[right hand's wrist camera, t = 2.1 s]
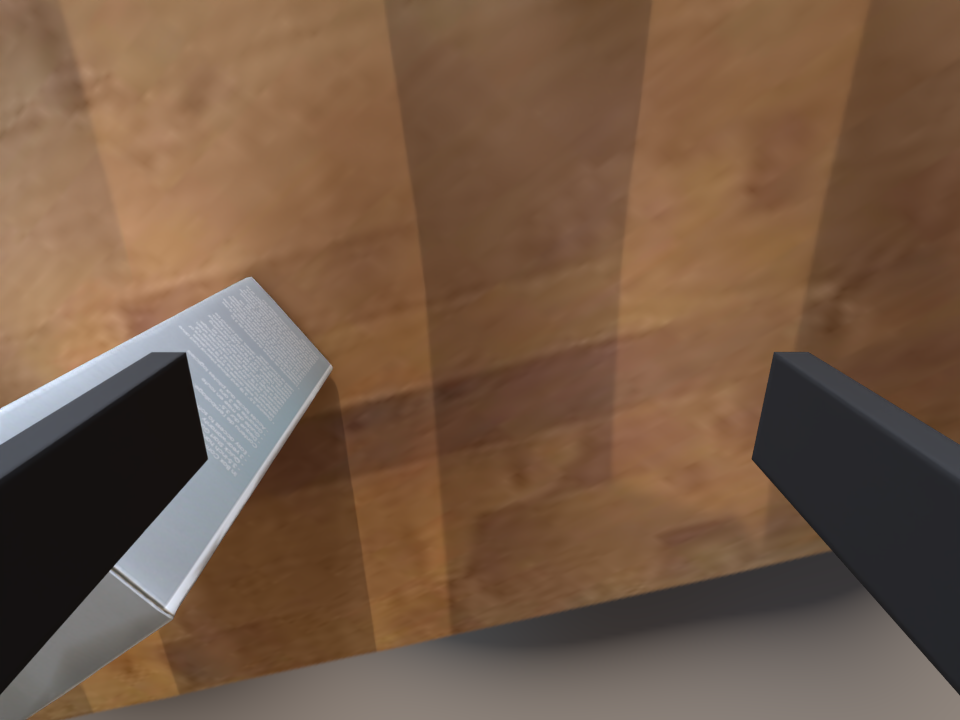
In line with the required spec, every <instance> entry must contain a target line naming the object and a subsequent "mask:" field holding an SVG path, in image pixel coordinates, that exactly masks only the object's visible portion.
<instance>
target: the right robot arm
mask: <svg viewBox="0 0 960 720" xmlns="http://www.w3.org/2000/svg"><path fill="white" fill-rule="evenodd" d="M207 460H208V456H207V451H206V446H205V441H204V436H203V432H202V427H201V422H200V417H199V412H198V407H197V403H196V398H195V393H194V388H193V383H192V379H191V374H190V369H189V364H188V359H187V355H186V352H151V353H149V354H148V355H146V356H145V357H143V358H141V359H140V360H138V361H136V362H135V363H133V364H131V365H130V366H128V367H127V368H125V369H123V370H122V371H120V372H118V373H117V374H115V375H114V376H112V377H110V378H109V379H107V380H105V381H104V382H102V383H100V384H99V385H97V386H96V387H94V388H92V389H91V390H89V391H87V392H86V393H84V394H82V395H81V396H79V397H78V398H76V399H74V400H73V401H71V402H69V403H68V404H66V405H65V406H63V407H61V408H60V409H58V410H56V411H55V412H53V413H51V414H50V415H48V416H47V417H45V418H43V419H42V420H40V421H38V422H37V423H35V424H33V425H32V426H30V427H29V428H27V429H25V430H24V431H22V432H20V433H19V434H17V435H16V436H14V437H12V438H11V439H9V440H7V441H6V442H4V443H2V444H1V445H0V695H1V694H2V693H3V691H4V690H5V689H6V688H7V687H8V686H9V685H10V683H11V682H12V681H13V680H14V679H15V678H16V677H17V676H18V674H19V673H20V672H21V671H22V670H23V669H24V668H25V666H26V665H27V664H28V663H29V662H30V661H31V660H32V659H33V657H34V656H35V655H36V654H37V653H38V652H39V651H40V649H41V648H42V647H43V646H44V645H45V644H46V643H47V642H48V640H49V639H50V638H51V637H52V636H53V635H54V634H55V632H56V631H57V630H58V629H59V628H60V627H61V626H62V625H63V623H64V622H65V621H66V620H67V619H68V618H69V617H70V615H71V614H72V613H73V612H74V611H75V610H76V609H77V608H78V606H79V605H80V604H81V603H82V602H83V601H84V600H85V598H86V597H87V596H88V595H89V594H90V593H91V592H92V591H93V589H94V588H95V587H96V586H97V585H98V584H99V583H100V581H101V580H102V579H103V578H104V577H105V576H106V575H107V574H108V572H109V571H110V570H111V569H112V568H113V567H114V566H115V564H116V563H117V562H118V561H119V560H120V559H121V558H122V556H123V555H124V554H125V553H126V552H127V551H128V550H129V549H130V547H131V546H132V545H133V544H134V543H135V542H136V541H137V539H138V538H139V537H140V536H141V535H142V534H143V533H144V532H145V530H146V529H147V528H148V527H149V526H150V525H151V524H152V522H153V521H154V520H155V519H156V518H157V517H158V516H159V515H160V513H161V512H162V511H163V510H164V509H165V508H166V507H167V505H168V504H169V503H170V502H171V501H172V500H173V499H174V498H175V496H176V495H177V494H178V493H179V492H180V491H181V490H182V488H183V487H184V486H185V485H186V484H187V483H188V482H189V481H190V479H191V478H192V477H193V476H194V475H195V474H196V473H197V471H198V470H199V469H200V468H201V467H202V466H203V465H204V464H205V462H206V461H207ZM752 460H753V461H754V462H755V464H756V465H757V466H758V467H759V468H760V469H761V470H762V471H763V473H764V474H765V475H766V476H767V477H768V478H769V479H770V481H771V482H772V483H773V484H774V485H775V486H776V487H777V488H778V490H779V491H780V492H781V493H782V494H783V495H784V496H785V498H786V499H787V500H788V501H789V502H790V503H791V504H792V505H793V507H794V508H795V509H796V510H797V511H798V512H799V513H800V515H801V516H802V517H803V518H804V519H805V520H806V521H807V522H808V524H809V525H810V526H811V527H812V528H813V529H814V530H815V532H816V533H817V534H818V535H819V536H820V537H821V538H822V539H823V541H824V542H825V543H826V544H827V545H828V546H829V547H830V549H831V550H832V551H833V552H834V553H835V554H836V555H837V556H838V558H839V559H840V560H841V561H842V562H843V563H844V564H845V566H846V567H847V568H848V569H849V570H850V571H851V572H852V573H853V575H854V576H855V577H856V578H857V579H858V580H859V581H860V583H861V584H862V585H863V586H864V587H865V588H866V589H867V591H868V592H869V593H870V594H871V595H872V596H873V597H874V598H875V600H876V601H877V602H878V603H879V604H880V605H881V606H882V608H883V609H884V610H885V611H886V612H887V613H888V614H889V615H890V617H891V618H892V619H893V620H894V621H895V622H896V623H897V624H898V626H899V627H900V628H901V629H902V630H903V631H904V632H905V634H906V635H907V636H908V637H909V638H910V639H911V640H912V642H913V643H914V644H915V645H916V646H917V647H918V648H919V649H920V651H921V652H922V653H923V654H924V655H925V656H926V657H927V659H928V660H929V661H930V662H931V663H932V664H933V665H934V666H935V668H936V669H937V670H938V671H939V672H940V673H941V674H942V675H943V677H944V678H945V679H946V680H947V681H948V682H949V684H950V685H951V686H952V687H953V688H954V689H955V690H956V691H957V693H958V694H959V695H960V445H959V444H958V443H956V442H954V441H953V440H951V439H949V438H948V437H946V436H944V435H943V434H941V433H940V432H938V431H936V430H935V429H933V428H931V427H930V426H928V425H927V424H925V423H923V422H922V421H920V420H918V419H917V418H915V417H913V416H912V415H910V414H909V413H907V412H905V411H904V410H902V409H900V408H899V407H897V406H895V405H894V404H892V403H891V402H889V401H887V400H886V399H884V398H882V397H881V396H879V395H878V394H876V393H874V392H873V391H871V390H869V389H868V388H866V387H864V386H863V385H861V384H860V383H858V382H856V381H855V380H853V379H851V378H850V377H848V376H846V375H845V374H843V373H842V372H840V371H838V370H837V369H835V368H833V367H832V366H830V365H829V364H827V363H825V362H824V361H822V360H820V359H819V358H817V357H815V356H814V355H812V354H811V353H809V352H774V355H773V359H772V364H771V369H770V374H769V379H768V383H767V388H766V393H765V398H764V403H763V407H762V412H761V417H760V422H759V427H758V431H757V436H756V441H755V446H754V451H753V456H752Z"/></svg>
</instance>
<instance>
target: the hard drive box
mask: <svg viewBox="0 0 960 720" xmlns="http://www.w3.org/2000/svg"><path fill="white" fill-rule="evenodd" d="M151 352H186V355H187V359H188V364H189V369H190V374H191V379H192V383H193V388H194V393H195V398H196V403H197V407H198V412H199V417H200V422H201V427H202V432H203V436H204V441H205V446H206V451H207V456H208V460H207V461H206V462H205V464H204V465H203V466H202V467H201V468H200V469H199V470H198V471H197V473H196V474H195V475H194V476H193V477H192V478H191V479H190V481H189V482H188V483H187V484H186V485H185V486H184V487H183V488H182V490H181V491H180V492H179V493H178V494H177V495H176V496H175V498H174V499H173V500H172V501H171V502H170V503H169V504H168V505H167V507H166V508H165V509H164V510H163V511H162V512H161V513H160V515H159V516H158V517H157V518H156V519H155V520H154V521H153V522H152V524H151V525H150V526H149V527H148V528H147V529H146V530H145V532H144V533H143V534H142V535H141V536H140V537H139V538H138V539H137V541H136V542H135V543H134V544H133V545H132V546H131V547H130V549H129V550H128V551H127V552H126V553H125V554H124V555H123V556H122V558H121V559H120V560H119V561H118V562H117V563H116V564H115V566H114V567H113V568H112V569H111V570H110V571H109V572H108V574H107V575H106V576H105V577H104V578H103V579H102V580H101V581H100V583H99V584H98V585H97V586H96V587H95V588H94V589H93V591H92V592H91V593H90V594H89V595H88V596H87V597H86V598H85V600H84V601H83V602H82V603H81V604H80V605H79V606H78V608H77V609H76V610H75V611H74V612H73V613H72V614H71V615H70V617H69V618H68V619H67V620H66V621H65V622H64V623H63V625H62V626H61V627H60V628H59V629H58V630H57V631H56V632H55V634H54V635H53V636H52V637H51V638H50V639H49V640H48V642H47V643H46V644H45V645H44V646H43V647H42V648H41V649H40V651H39V652H38V653H37V654H36V655H35V656H34V657H33V659H32V660H31V661H30V662H29V663H28V664H27V665H26V666H25V668H24V669H23V670H22V671H21V672H20V673H19V674H18V676H17V677H16V678H15V679H14V680H13V681H12V682H11V683H10V685H9V686H8V687H7V688H6V689H5V690H4V691H3V693H2V694H1V695H0V720H26V719H28V718H29V717H30V716H32V715H33V714H35V713H37V712H38V711H40V710H41V709H43V708H44V707H46V706H47V705H49V704H50V703H52V702H53V701H55V700H56V699H58V698H60V697H61V696H63V695H64V694H66V693H67V692H68V691H70V690H71V689H73V688H74V687H76V686H77V685H78V684H80V683H81V682H83V681H84V680H86V679H87V678H89V677H90V676H91V675H93V674H94V673H96V672H97V671H98V670H100V669H101V668H102V667H104V666H105V665H107V664H109V663H110V662H112V661H113V660H114V659H116V658H117V657H119V656H120V655H122V654H123V653H124V652H126V651H127V650H129V649H130V648H132V647H133V646H135V645H136V644H138V643H139V642H141V641H142V640H143V639H145V638H146V637H148V636H149V635H151V634H152V633H154V632H155V631H157V630H158V629H160V628H161V627H163V626H164V625H166V624H167V623H168V622H170V621H171V620H173V618H174V616H175V613H176V611H177V609H178V608H179V606H180V605H181V603H182V602H183V600H184V599H185V597H186V596H187V594H188V593H189V591H190V589H191V588H192V586H193V585H194V583H195V582H196V580H197V579H198V577H199V575H200V574H201V572H202V571H203V569H204V568H205V566H206V564H207V563H208V561H209V560H210V558H211V556H212V555H213V553H214V552H215V550H216V549H217V547H218V545H219V544H220V542H221V541H222V539H223V538H224V536H225V535H226V533H227V532H228V530H229V529H230V527H231V525H232V524H233V522H234V521H235V519H236V518H237V516H238V515H239V513H240V512H241V510H242V509H243V507H244V505H245V504H246V502H247V501H248V499H249V498H250V496H251V495H252V493H253V492H254V490H255V489H256V487H257V486H258V484H259V482H260V481H261V479H262V478H263V476H264V475H265V473H266V471H267V470H268V468H269V467H270V465H271V464H272V462H273V461H274V459H275V458H276V456H277V455H278V453H279V452H280V450H281V448H282V447H283V445H284V444H285V442H286V441H287V439H288V437H289V436H290V434H291V433H292V431H293V430H294V428H295V427H296V425H297V424H298V422H299V421H300V419H301V418H302V416H303V415H304V413H305V412H306V410H307V409H308V407H309V406H310V404H311V402H312V401H313V399H314V398H315V396H316V395H317V393H318V392H319V390H320V388H321V387H322V385H323V384H324V382H325V381H326V379H327V378H328V376H329V375H330V373H331V371H332V370H333V367H332V365H331V364H330V363H329V362H328V361H327V360H326V358H325V357H324V356H323V355H322V354H321V353H320V352H319V351H318V349H317V348H316V347H315V346H314V345H313V344H312V343H311V342H310V340H309V339H308V338H307V337H306V336H305V335H304V334H303V333H302V331H301V330H300V329H299V328H298V327H297V326H296V325H295V324H294V323H293V321H292V320H291V319H290V318H289V317H288V316H287V315H286V314H285V312H284V311H283V310H282V309H281V308H280V307H279V306H278V305H277V303H276V302H275V301H274V300H273V299H272V298H271V297H270V296H269V295H268V294H267V293H266V292H265V290H264V289H263V288H262V287H261V286H260V285H259V284H258V283H257V282H256V281H255V280H254V279H253V278H252V277H247V278H245V279H243V280H241V281H239V282H237V283H235V284H233V285H231V286H229V287H227V288H226V289H224V290H222V291H220V292H218V293H216V294H214V295H212V296H211V297H209V298H207V299H205V300H203V301H201V302H199V303H197V304H196V305H194V306H192V307H190V308H188V309H186V310H184V311H182V312H181V313H179V314H177V315H175V316H173V317H171V318H169V319H167V320H165V321H164V322H162V323H160V324H158V325H156V326H154V327H152V328H150V329H149V330H147V331H145V332H143V333H141V334H139V335H137V336H135V337H134V338H132V339H130V340H128V341H126V342H124V343H122V344H120V345H119V346H117V347H115V348H113V349H111V350H109V351H107V352H105V353H104V354H102V355H100V356H98V357H96V358H94V359H92V360H90V361H89V362H87V363H85V364H83V365H81V366H79V367H77V368H75V369H73V370H72V371H70V372H68V373H66V374H64V375H62V376H61V377H59V378H57V379H55V380H53V381H51V382H49V383H48V384H46V385H44V386H42V387H40V388H38V389H36V390H35V391H33V392H31V393H29V394H27V395H25V396H23V397H21V398H19V399H18V400H16V401H14V402H12V403H10V404H8V405H6V406H4V407H3V408H1V409H0V445H1V444H2V443H4V442H6V441H7V440H9V439H11V438H12V437H14V436H16V435H17V434H19V433H20V432H22V431H24V430H25V429H27V428H29V427H30V426H32V425H33V424H35V423H37V422H38V421H40V420H42V419H43V418H45V417H47V416H48V415H50V414H51V413H53V412H55V411H56V410H58V409H60V408H61V407H63V406H65V405H66V404H68V403H69V402H71V401H73V400H74V399H76V398H78V397H79V396H81V395H82V394H84V393H86V392H87V391H89V390H91V389H92V388H94V387H96V386H97V385H99V384H100V383H102V382H104V381H105V380H107V379H109V378H110V377H112V376H114V375H115V374H117V373H118V372H120V371H122V370H123V369H125V368H127V367H128V366H130V365H131V364H133V363H135V362H136V361H138V360H140V359H141V358H143V357H145V356H146V355H148V354H149V353H151Z"/></svg>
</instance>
